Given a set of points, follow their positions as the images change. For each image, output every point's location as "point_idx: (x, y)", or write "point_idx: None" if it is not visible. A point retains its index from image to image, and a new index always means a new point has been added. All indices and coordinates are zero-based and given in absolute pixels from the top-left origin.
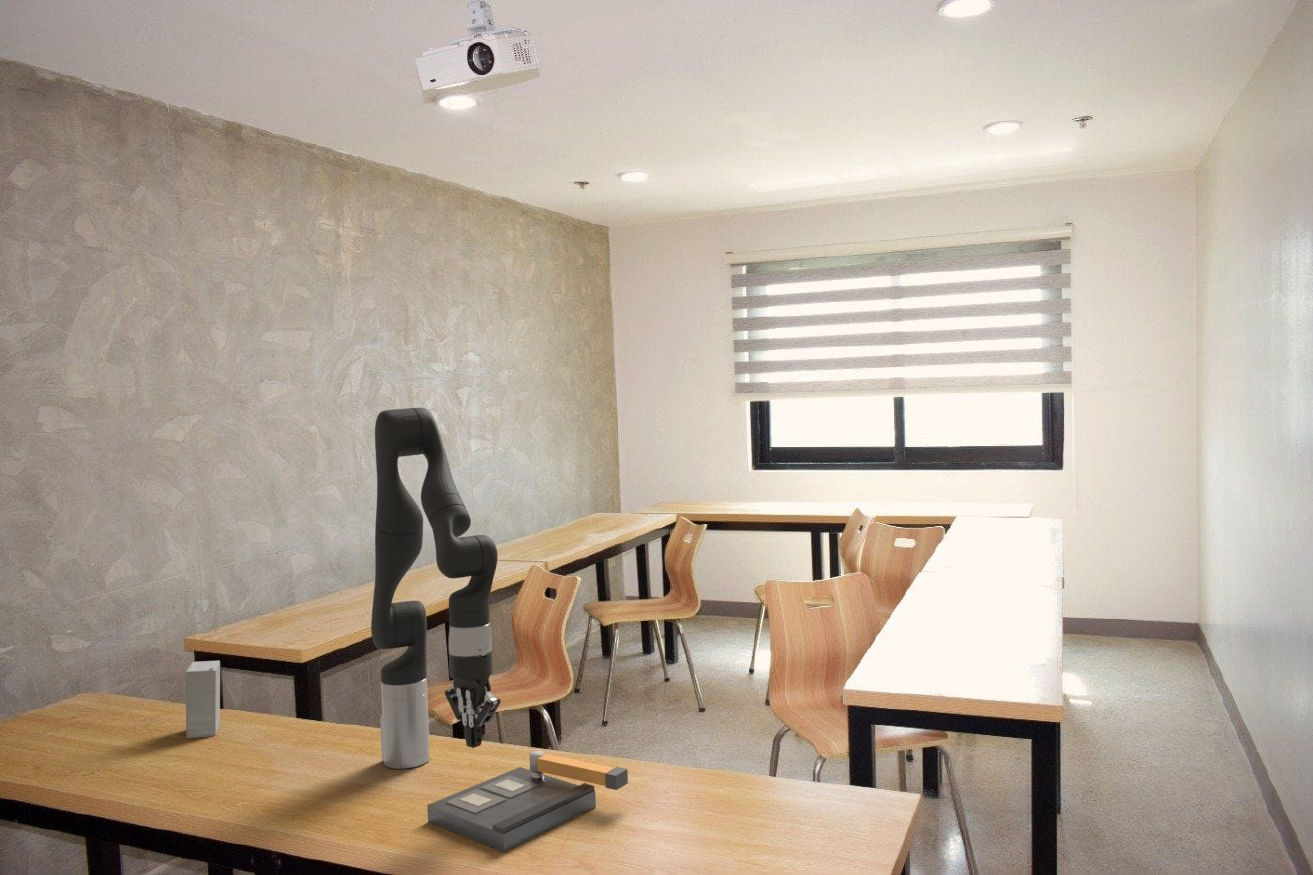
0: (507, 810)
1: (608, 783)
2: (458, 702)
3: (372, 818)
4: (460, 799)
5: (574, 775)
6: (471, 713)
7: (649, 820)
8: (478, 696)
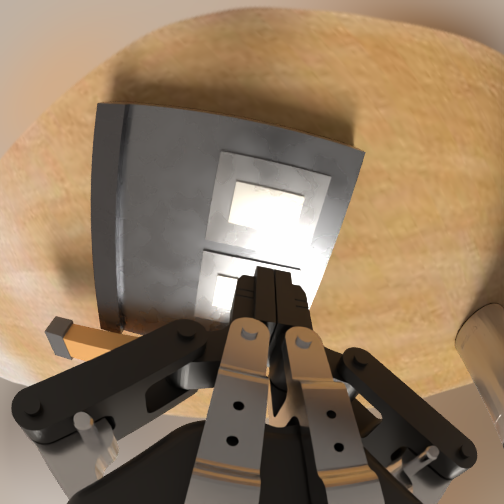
0: (165, 196)
1: (63, 324)
2: (386, 434)
3: (455, 131)
4: (302, 196)
5: (129, 340)
6: (217, 375)
7: (39, 290)
8: (125, 486)
